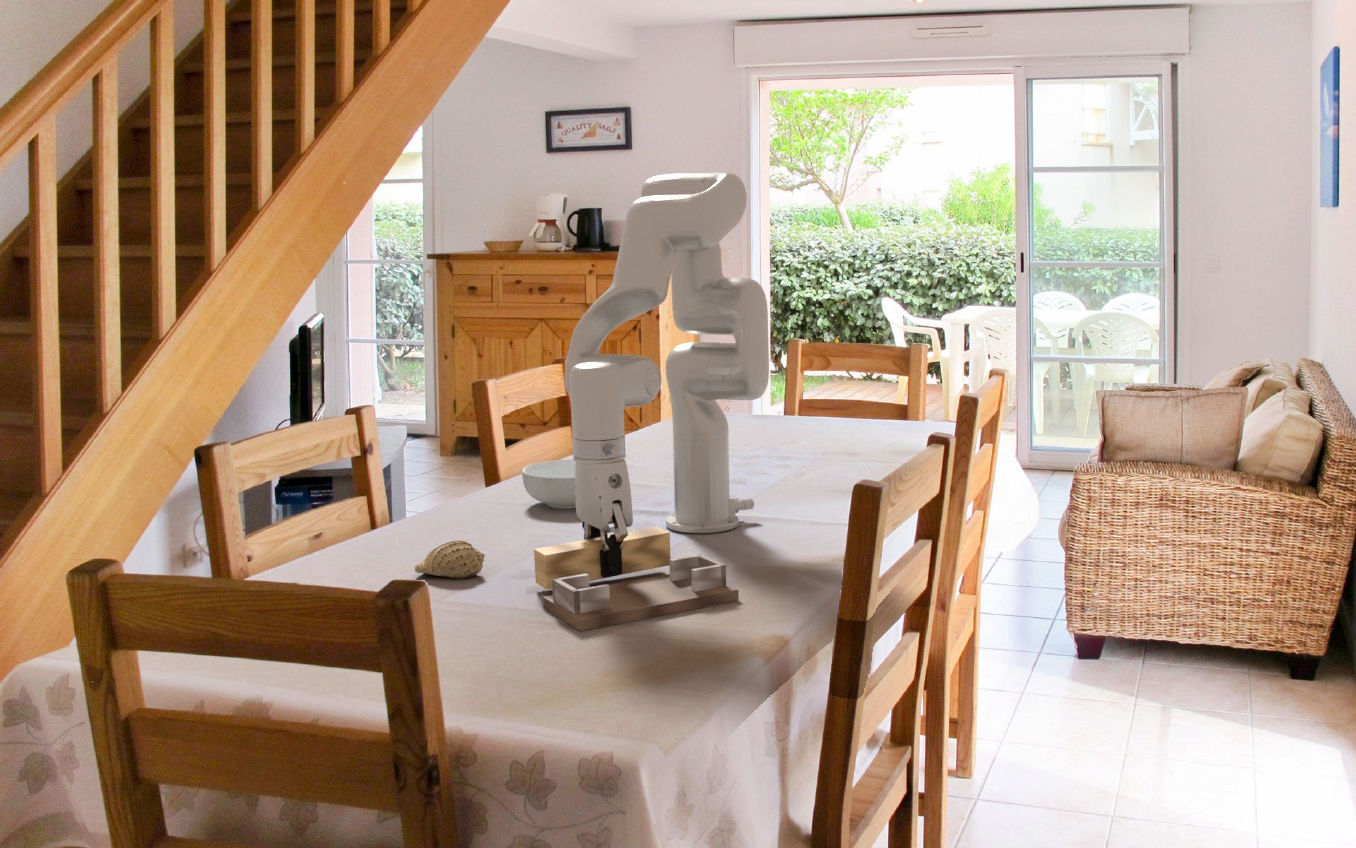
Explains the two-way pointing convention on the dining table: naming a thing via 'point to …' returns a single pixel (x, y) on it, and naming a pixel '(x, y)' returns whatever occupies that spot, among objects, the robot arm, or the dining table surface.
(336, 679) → the dining table surface
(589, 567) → the slat
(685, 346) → the robot arm
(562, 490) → the cereal bowl
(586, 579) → the endcap base
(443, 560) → the seashell
